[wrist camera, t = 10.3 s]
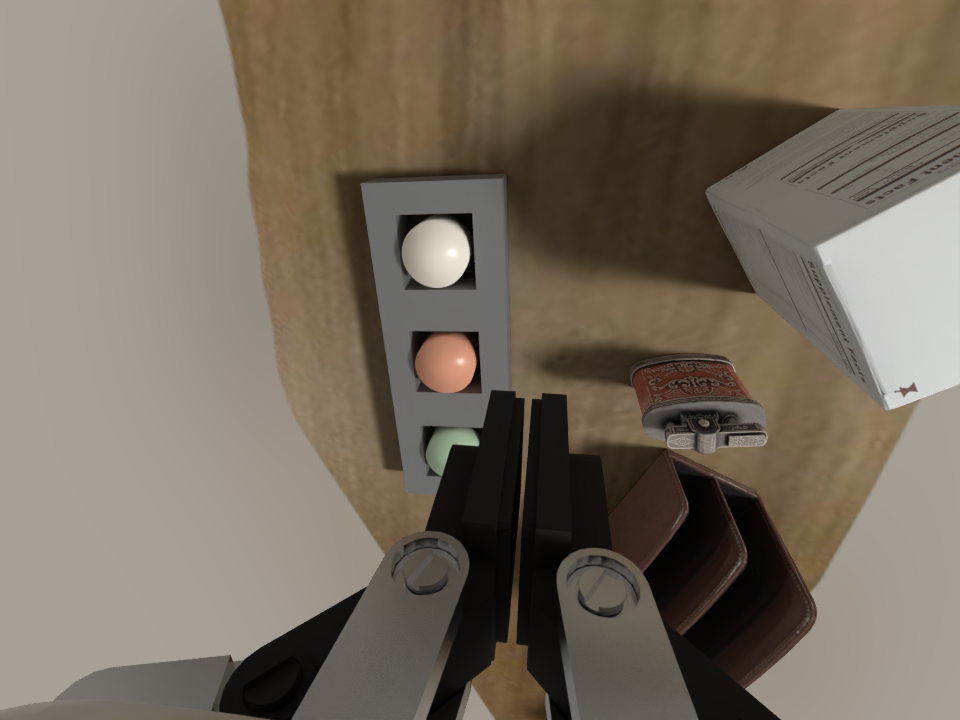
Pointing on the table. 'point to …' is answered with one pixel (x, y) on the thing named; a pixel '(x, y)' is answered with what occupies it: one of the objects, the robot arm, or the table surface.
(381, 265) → the button panel
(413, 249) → the cream button
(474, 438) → the sage button
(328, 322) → the table surface
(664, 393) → the lighter
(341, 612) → the robot arm
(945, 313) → the supplement box
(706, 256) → the table surface
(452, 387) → the terracotta button
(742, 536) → the letter holder
